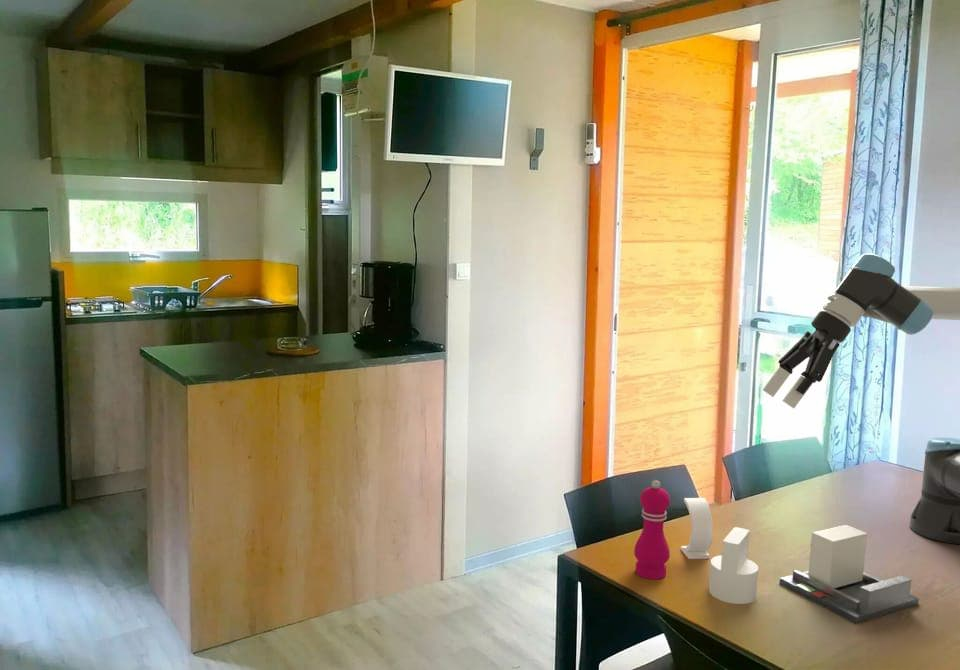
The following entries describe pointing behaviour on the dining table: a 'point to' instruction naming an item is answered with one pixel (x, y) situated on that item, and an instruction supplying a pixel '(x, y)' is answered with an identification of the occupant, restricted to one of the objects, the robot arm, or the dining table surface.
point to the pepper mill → (653, 534)
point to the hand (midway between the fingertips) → (777, 399)
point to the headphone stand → (699, 529)
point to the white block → (837, 555)
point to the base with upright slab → (734, 570)
